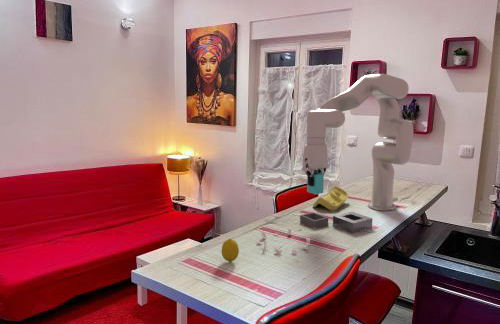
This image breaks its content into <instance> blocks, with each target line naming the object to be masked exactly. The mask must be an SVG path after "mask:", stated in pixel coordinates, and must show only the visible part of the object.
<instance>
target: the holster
mask: <svg viewBox="0 0 500 324" xmlns="http://www.w3.org/2000/svg"><path fill="white" fill-rule="evenodd" d="M299 223H302V224H304V225H306V226H309V227H311V228H313V229H316V228H320V227H325V226H328V225H329V217H327V216H325V215H322V214H319V213H316V212H314V211H313V212H308V213H304V214H300V215H299Z"/></svg>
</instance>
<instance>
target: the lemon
mask: <svg viewBox="0 0 500 324" xmlns="http://www.w3.org/2000/svg"><path fill="white" fill-rule="evenodd" d="M239 250H240V248H239V244H238V243H237V241H236V240H235V239H232V238H228V239H226V240H224V242H223V243H222V246H221V256H222V258H223V259H224V260H225V261H227V262H229V263H232V262H233V261H235V260H237V258H238V257H239V252H240V251H239Z"/></svg>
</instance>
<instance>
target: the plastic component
mask: <svg viewBox="0 0 500 324" xmlns="http://www.w3.org/2000/svg"><path fill="white" fill-rule="evenodd" d="M348 198H349V193H348V192H347V191H345V190H344V188H341V186H340V187H339V186H338V185H335V186H333V188H332V189H331V190H330V191H329V192H327V193H326V195H325V196H324V197H322V196H321V197H320V196H319V197H318V198H317V200H316V201H315V202H314V203H313V205H312V207H313V208H317V207H319V205H321V206H323V207H324V208H326V209H327V210H329V211H332V212H335V211H336V210H338V209H339V208H340V207H341V206H342V205H344V202H345V201H347V199H348ZM316 206H317V207H316Z"/></svg>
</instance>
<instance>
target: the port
mask: <svg viewBox="0 0 500 324" xmlns="http://www.w3.org/2000/svg"><path fill="white" fill-rule="evenodd" d="M332 226H333V227H336V228H339V229H341V230H344V231H346V232H349V233H351V234H354V233H359V232H362V230H363V231H365V229H366V230H369V228H370V229H372V228H373V217H369V216H366V215H363V214H361V213H358V212H355V211H349V212H348V211H347V212H344V213H340V214H336V215H335V214H334V215H333V216H332Z"/></svg>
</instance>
